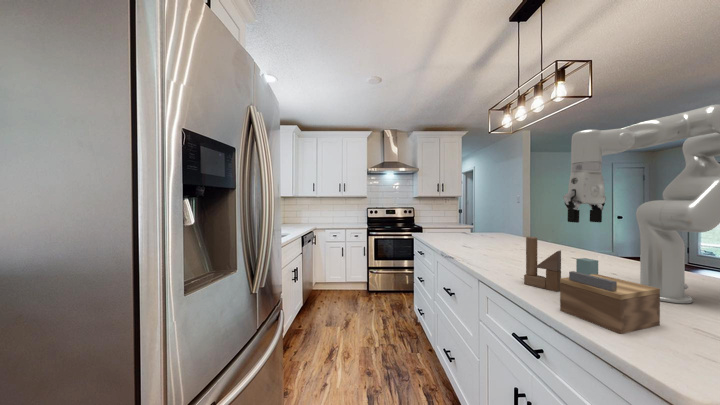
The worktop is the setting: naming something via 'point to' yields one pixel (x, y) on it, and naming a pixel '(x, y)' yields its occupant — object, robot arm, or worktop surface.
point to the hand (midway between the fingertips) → (584, 222)
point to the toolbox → (611, 309)
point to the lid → (608, 286)
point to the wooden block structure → (550, 264)
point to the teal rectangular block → (587, 266)
